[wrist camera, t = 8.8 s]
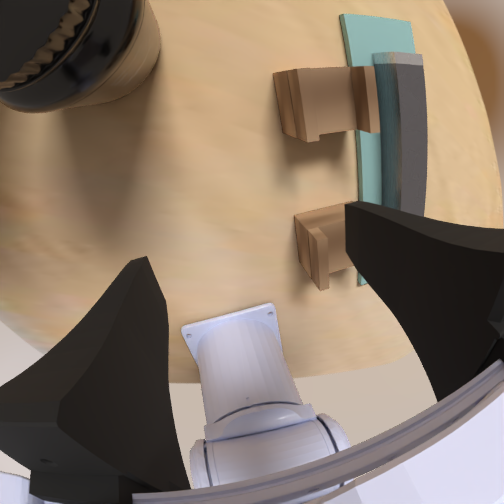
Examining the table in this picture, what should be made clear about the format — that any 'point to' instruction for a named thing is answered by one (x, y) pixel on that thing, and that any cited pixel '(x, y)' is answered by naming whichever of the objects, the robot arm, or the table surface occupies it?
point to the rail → (402, 130)
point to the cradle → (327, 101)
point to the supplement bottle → (74, 51)
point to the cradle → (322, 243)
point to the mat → (360, 54)
